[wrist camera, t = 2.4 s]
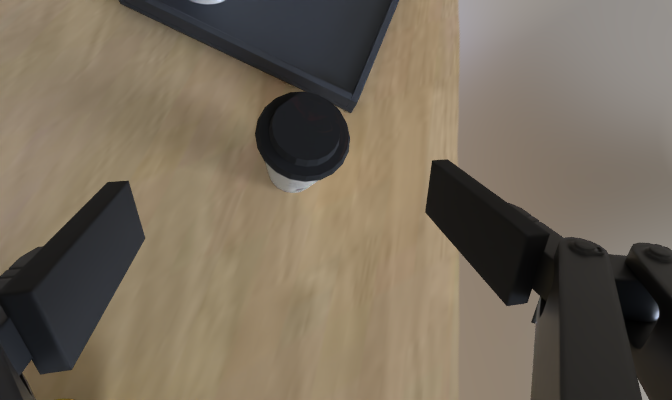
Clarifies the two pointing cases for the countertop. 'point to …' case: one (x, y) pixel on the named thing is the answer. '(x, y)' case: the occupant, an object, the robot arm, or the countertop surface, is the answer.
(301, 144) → the coffee cup
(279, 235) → the countertop surface
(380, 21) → the cup tray
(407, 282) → the countertop surface
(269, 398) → the countertop surface
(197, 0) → the cream cup
